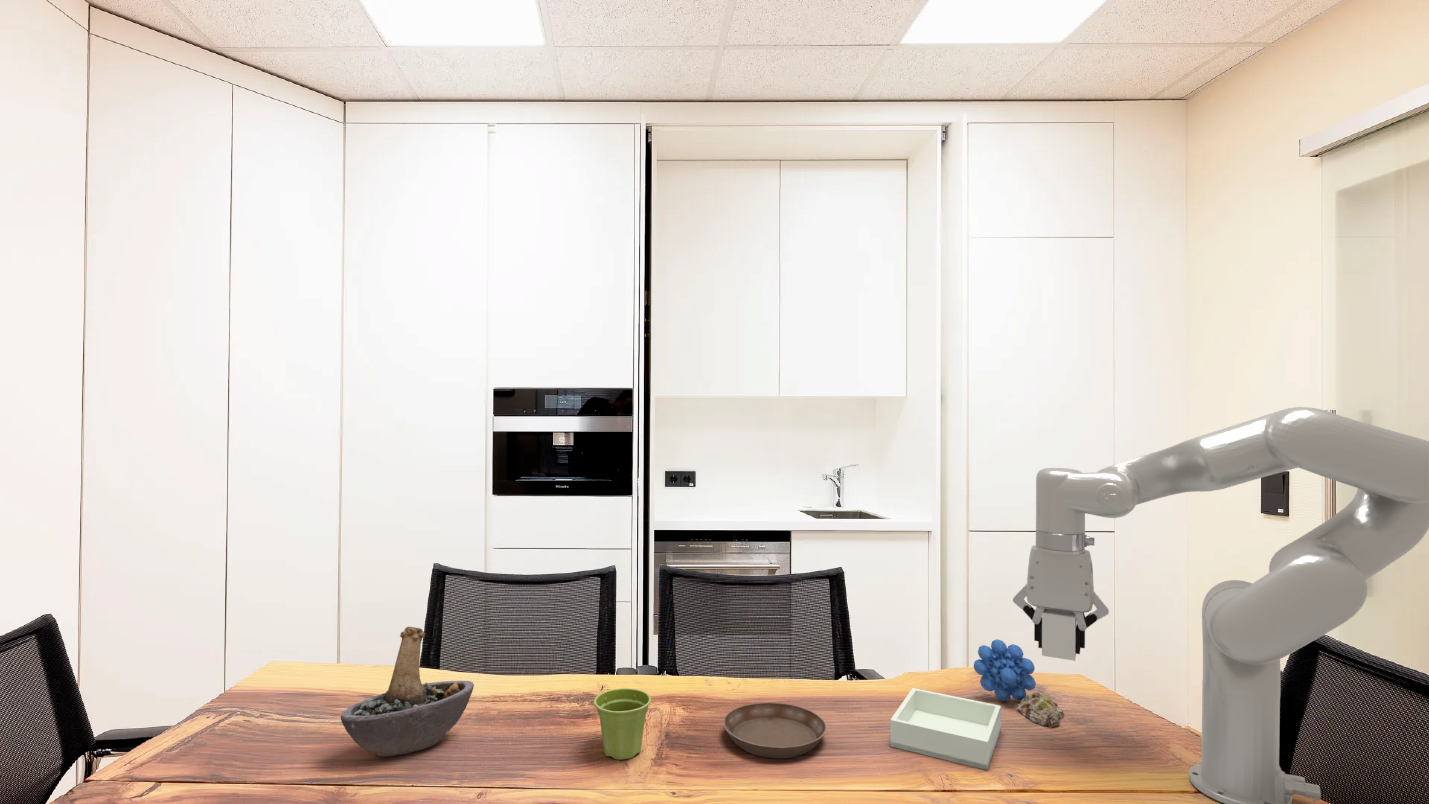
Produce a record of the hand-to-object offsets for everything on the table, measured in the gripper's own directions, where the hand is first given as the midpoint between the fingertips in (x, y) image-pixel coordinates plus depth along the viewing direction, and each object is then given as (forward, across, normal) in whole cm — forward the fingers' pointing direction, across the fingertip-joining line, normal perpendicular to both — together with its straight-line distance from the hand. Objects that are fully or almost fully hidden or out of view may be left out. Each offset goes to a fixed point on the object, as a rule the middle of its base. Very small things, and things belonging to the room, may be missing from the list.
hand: (1059, 647), depth 122 cm
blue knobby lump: (+17, +10, -15) cm, 25 cm away
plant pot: (+17, +63, +38) cm, 76 cm away
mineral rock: (+18, +4, -13) cm, 22 cm away
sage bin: (+17, +17, +6) cm, 25 cm away
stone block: (+1, 0, 0) cm, 1 cm away
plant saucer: (+17, +43, +21) cm, 51 cm away
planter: (+17, +94, +55) cm, 110 cm away
